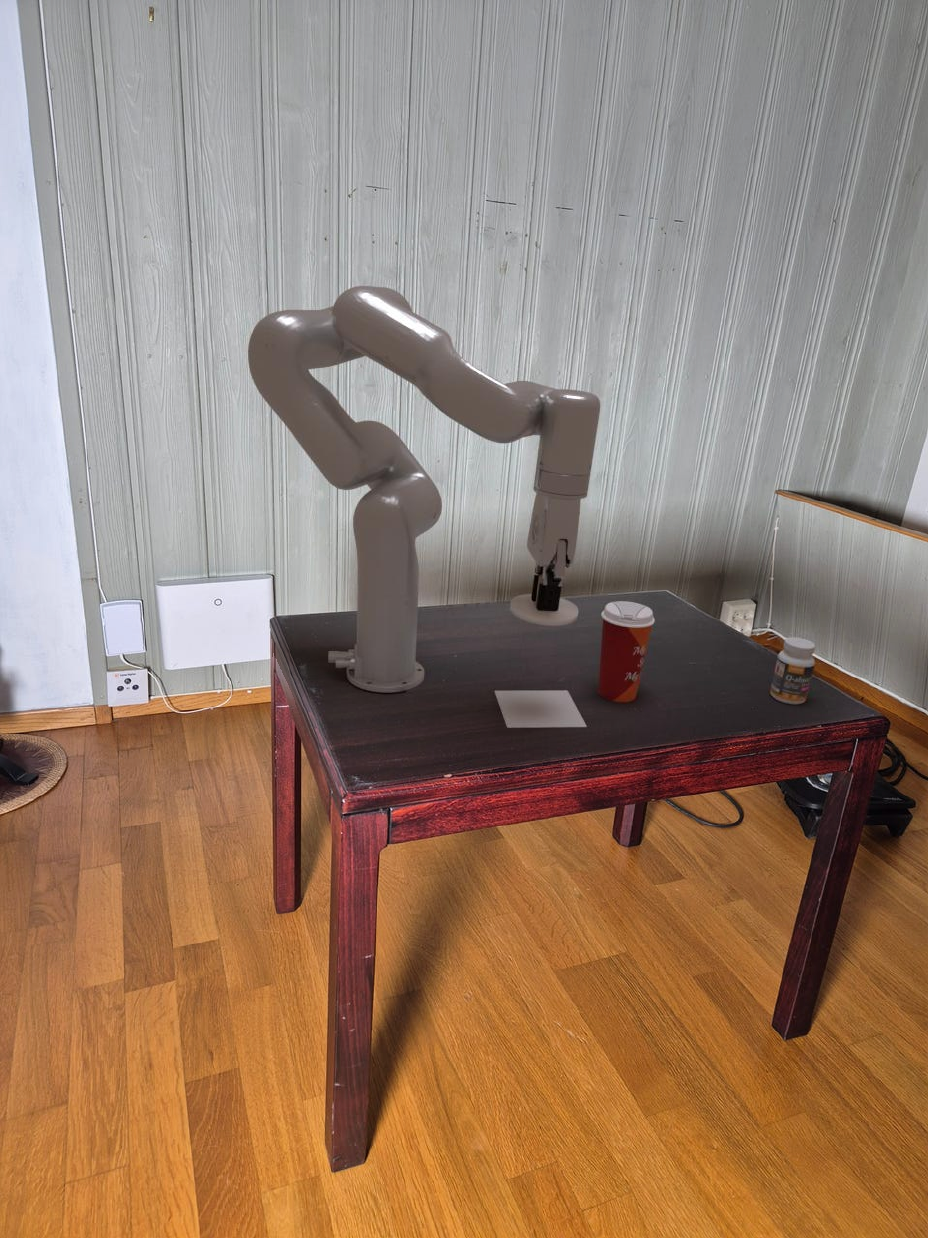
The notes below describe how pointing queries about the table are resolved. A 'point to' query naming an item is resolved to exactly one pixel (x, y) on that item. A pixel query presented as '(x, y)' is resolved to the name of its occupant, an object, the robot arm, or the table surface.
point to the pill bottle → (793, 671)
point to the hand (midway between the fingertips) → (544, 604)
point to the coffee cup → (623, 649)
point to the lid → (528, 611)
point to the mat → (539, 709)
